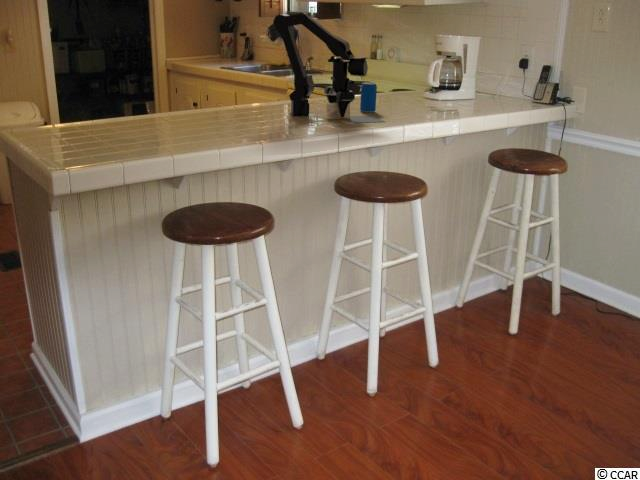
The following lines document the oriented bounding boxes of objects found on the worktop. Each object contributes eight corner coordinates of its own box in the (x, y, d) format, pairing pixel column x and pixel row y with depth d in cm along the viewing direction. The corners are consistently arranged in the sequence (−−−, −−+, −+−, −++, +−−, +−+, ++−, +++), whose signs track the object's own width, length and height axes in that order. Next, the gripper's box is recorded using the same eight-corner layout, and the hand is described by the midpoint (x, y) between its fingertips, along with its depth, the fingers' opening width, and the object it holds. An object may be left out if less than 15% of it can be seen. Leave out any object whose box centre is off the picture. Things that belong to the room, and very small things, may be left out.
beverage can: (377, 113, 265) (379, 84, 260) (362, 113, 263) (364, 84, 259) (372, 110, 271) (373, 82, 266) (357, 110, 269) (359, 82, 265)
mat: (354, 123, 241) (354, 122, 241) (341, 117, 253) (341, 116, 253) (385, 122, 245) (385, 121, 245) (371, 116, 257) (371, 115, 257)
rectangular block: (328, 119, 248) (328, 104, 245) (327, 118, 249) (326, 103, 247) (350, 117, 250) (349, 102, 248) (348, 116, 252) (348, 101, 250)
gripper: (368, 77, 238) (366, 118, 244) (350, 71, 254) (348, 110, 260) (340, 77, 235) (339, 119, 240) (324, 71, 251) (323, 111, 257)
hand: (338, 115), depth 249 cm, fingers open, 9 cm apart
